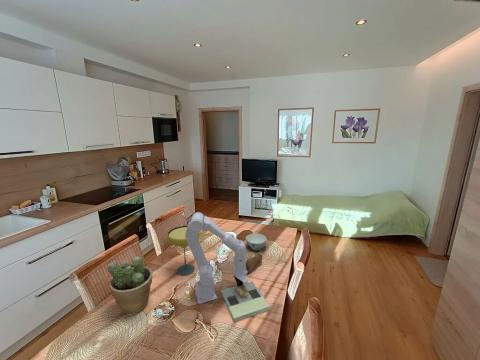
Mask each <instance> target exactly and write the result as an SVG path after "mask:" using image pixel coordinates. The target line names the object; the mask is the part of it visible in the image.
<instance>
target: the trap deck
mask: <svg viewBox="0 0 480 360" xmlns="http://www.w3.org/2000/svg"><path fill="white" fill-rule="evenodd" d="M246 287H247V289H248V296H247V297H244V298H240V297H239V295H238V287H237V285H235V286H234V285H233V286H232V287H231V286H230V287H227V288H224V289H220V294H221V297H222V299H223V301H224V303H225V306H226V307H227V309H228V312H229V314H230V317H231V318H232V321H233V323H236V322H239V321H242V320H244V319H248V318H251V317H254V316H257V315H260V314H262V313H265V312H268V311H270V310H271V306H270V304H269V303H268V301H267V300H266V298H264V296H263V294H262V293H261V292H260V289H258V287H257V286H256V284H255V283H254V281H253V280H252V281H249V282H248V285H246Z"/></svg>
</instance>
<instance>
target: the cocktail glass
mask: <svg viewBox="0 0 480 360" xmlns="http://www.w3.org/2000/svg"><path fill="white" fill-rule="evenodd" d="M187 226H188V225H181V226H176V227H174V228H172V229H170V230H169V231H167V236H166V237H167V238H166V239H167V242H168V243H169V244H170V245H172V246H174V247H181V248H182V249H183V252H184V253H183V256H184V264H183V265H180V266H179V267H177V269H176V274H177V275H178V276H180V277H181V276H183V277H184V276H189V275H191V274H193V273H194V272H195V271H196V269H195V266H194V265H192V264H189V263H188V264H187V260H186V258H187V257H186V248H187V247H189V245H188V242H187V240H186V237H185V234H186V230H187ZM197 237H198V239H199V238H200V232H199V233H197Z"/></svg>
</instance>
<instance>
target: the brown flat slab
mask: <svg viewBox="0 0 480 360" xmlns="http://www.w3.org/2000/svg"><path fill="white" fill-rule="evenodd" d="M262 260H263V255H262V254H261V253H259V252H255V253H254V254H253V255H251V256H249V257H248V258H247V260H246V270H247V272H248V273H249V274H252V273H253V272H254V271H255V270H257V269H258V268H259V267H260V266H261V265H262Z"/></svg>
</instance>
